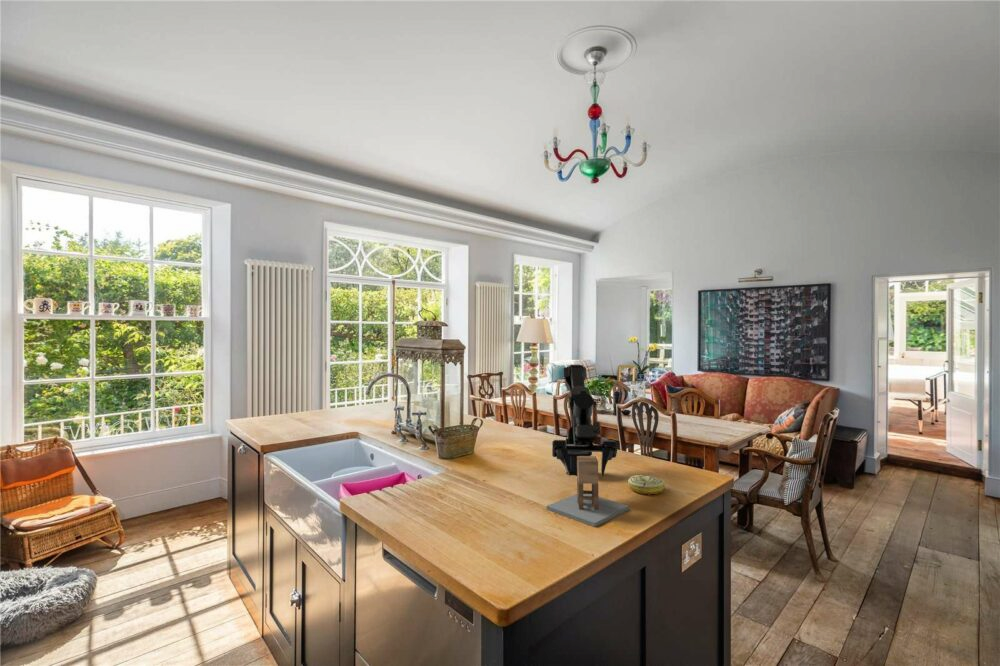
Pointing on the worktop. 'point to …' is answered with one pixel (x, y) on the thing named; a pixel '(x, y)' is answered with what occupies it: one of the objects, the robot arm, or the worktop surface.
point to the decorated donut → (646, 484)
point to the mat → (588, 510)
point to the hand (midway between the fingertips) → (586, 475)
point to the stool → (587, 480)
